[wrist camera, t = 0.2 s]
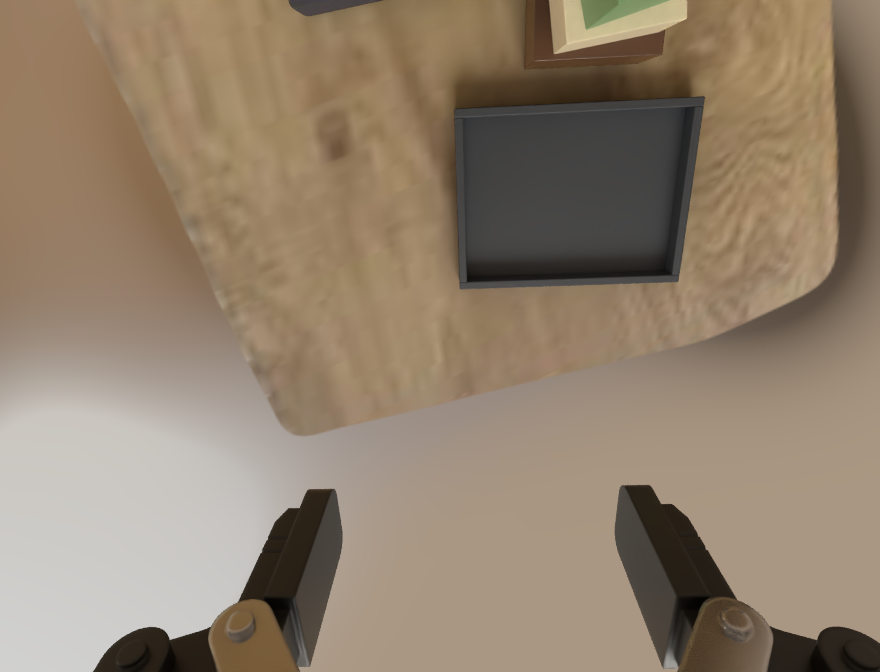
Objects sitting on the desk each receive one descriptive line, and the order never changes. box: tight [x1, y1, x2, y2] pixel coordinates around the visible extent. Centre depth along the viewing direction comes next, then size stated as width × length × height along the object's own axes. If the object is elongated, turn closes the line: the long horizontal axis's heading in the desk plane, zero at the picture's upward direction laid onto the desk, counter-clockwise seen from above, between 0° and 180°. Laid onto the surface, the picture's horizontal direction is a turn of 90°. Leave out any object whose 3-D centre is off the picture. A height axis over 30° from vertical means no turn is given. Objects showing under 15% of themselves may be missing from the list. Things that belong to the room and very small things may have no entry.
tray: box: [454, 96, 705, 289], centre depth 38 cm, size 13×17×2 cm
